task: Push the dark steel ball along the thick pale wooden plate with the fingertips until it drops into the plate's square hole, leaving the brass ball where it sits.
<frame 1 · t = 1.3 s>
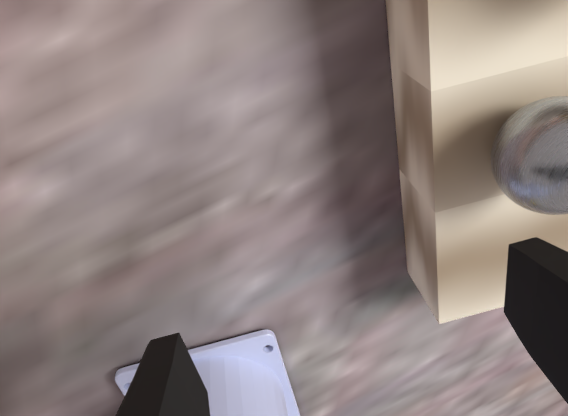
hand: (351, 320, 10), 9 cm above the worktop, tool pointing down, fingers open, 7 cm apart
steel ball: (554, 156, 14), point 5 cm above the worktop, touching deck
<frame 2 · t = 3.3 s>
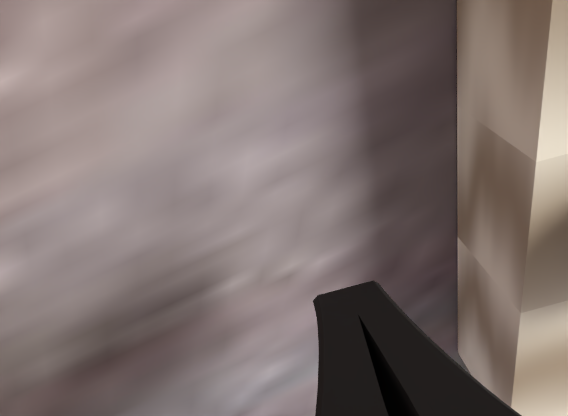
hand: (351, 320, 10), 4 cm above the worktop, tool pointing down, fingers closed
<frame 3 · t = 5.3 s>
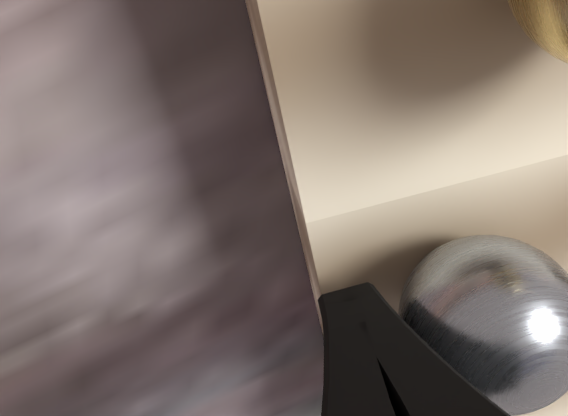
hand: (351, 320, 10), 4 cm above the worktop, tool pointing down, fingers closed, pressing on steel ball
steel ball: (487, 321, 9), point 5 cm above the worktop, touching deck, gripper
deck: (556, 137, 14), on the worktop
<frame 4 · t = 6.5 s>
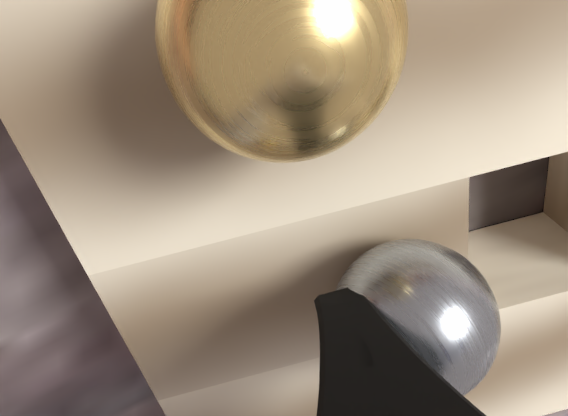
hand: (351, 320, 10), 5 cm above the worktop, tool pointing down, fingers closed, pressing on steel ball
steel ball: (411, 319, 10), point 5 cm above the worktop, tilted 120°, touching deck, gripper
brass ball: (281, 40, 7), point 5 cm above the worktop, touching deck
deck: (389, 181, 14), on the worktop
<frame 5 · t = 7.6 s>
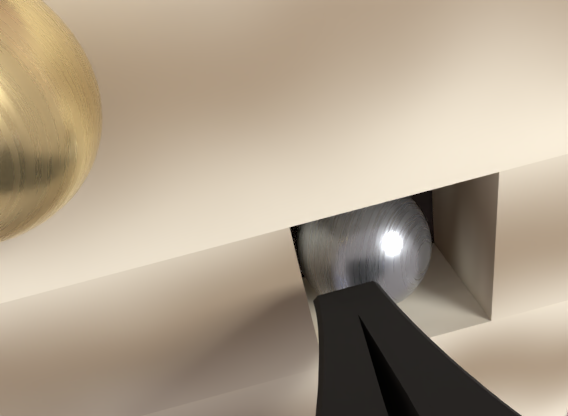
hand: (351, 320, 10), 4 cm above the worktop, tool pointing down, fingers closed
steel ball: (362, 244, 12), point 2 cm above the worktop, tilted 136°
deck: (256, 215, 13), on the worktop
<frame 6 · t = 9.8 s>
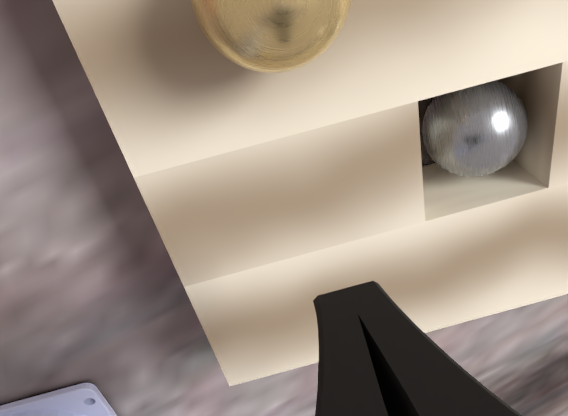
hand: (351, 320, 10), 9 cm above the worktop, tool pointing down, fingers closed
steel ball: (472, 128, 17), point 2 cm above the worktop, tilted 110°
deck: (365, 118, 18), on the worktop
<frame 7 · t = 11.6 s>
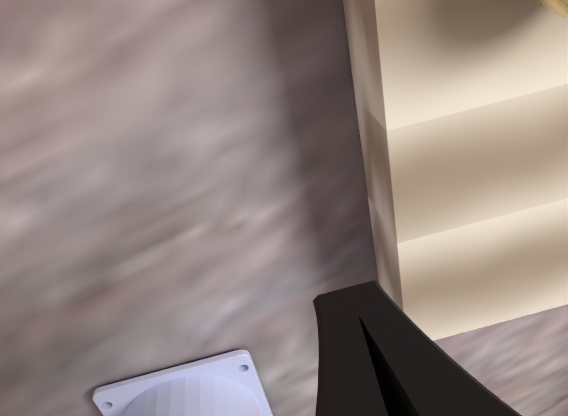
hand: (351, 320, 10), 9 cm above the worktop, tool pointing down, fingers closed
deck: (554, 86, 19), on the worktop
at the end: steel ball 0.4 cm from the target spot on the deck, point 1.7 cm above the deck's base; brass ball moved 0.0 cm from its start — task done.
